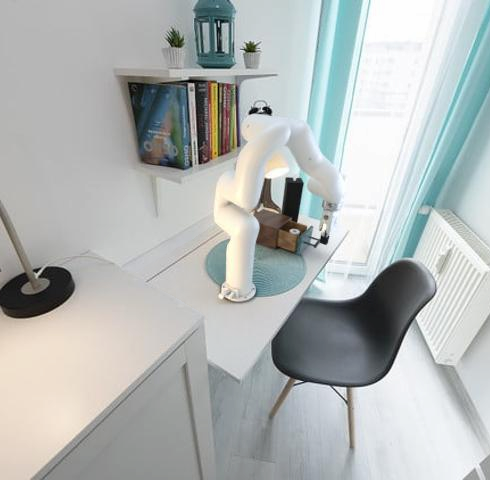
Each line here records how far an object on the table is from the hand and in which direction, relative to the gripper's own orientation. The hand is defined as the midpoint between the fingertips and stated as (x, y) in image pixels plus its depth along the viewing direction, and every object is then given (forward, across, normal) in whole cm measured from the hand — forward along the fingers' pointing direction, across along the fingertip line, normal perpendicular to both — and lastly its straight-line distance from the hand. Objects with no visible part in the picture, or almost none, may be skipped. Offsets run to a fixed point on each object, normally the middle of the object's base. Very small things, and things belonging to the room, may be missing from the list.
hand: (323, 243), depth 126 cm
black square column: (+7, +19, +25) cm, 32 cm away
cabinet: (+6, 0, +27) cm, 28 cm away
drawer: (+6, 0, +12) cm, 13 cm away
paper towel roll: (+4, 0, +14) cm, 15 cm away
